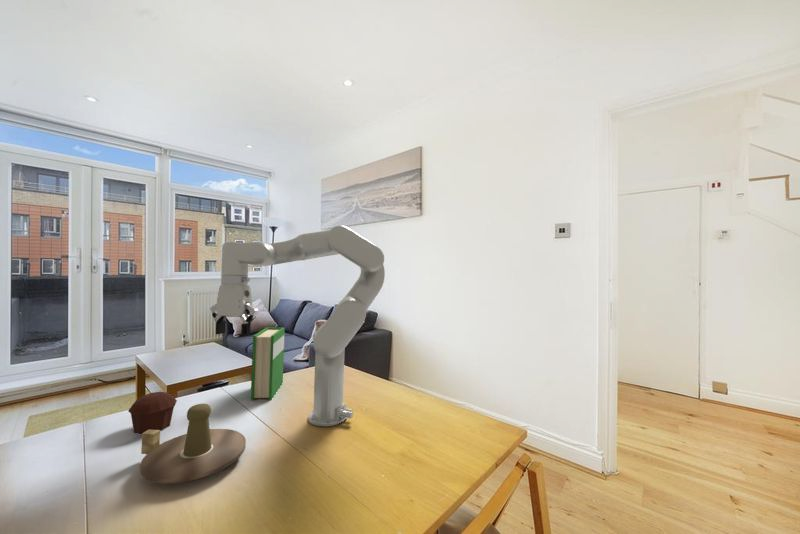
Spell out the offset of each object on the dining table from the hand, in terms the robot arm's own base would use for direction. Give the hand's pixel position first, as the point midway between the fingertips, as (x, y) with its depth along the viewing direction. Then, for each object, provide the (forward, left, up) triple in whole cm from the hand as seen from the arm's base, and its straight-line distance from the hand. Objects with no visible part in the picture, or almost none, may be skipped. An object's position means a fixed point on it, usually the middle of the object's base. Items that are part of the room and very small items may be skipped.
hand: (232, 334), depth 101 cm
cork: (-9, +19, -25) cm, 33 cm away
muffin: (+19, +10, -28) cm, 35 cm away
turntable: (-9, +20, -26) cm, 33 cm away
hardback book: (+7, -26, -28) cm, 39 cm away
